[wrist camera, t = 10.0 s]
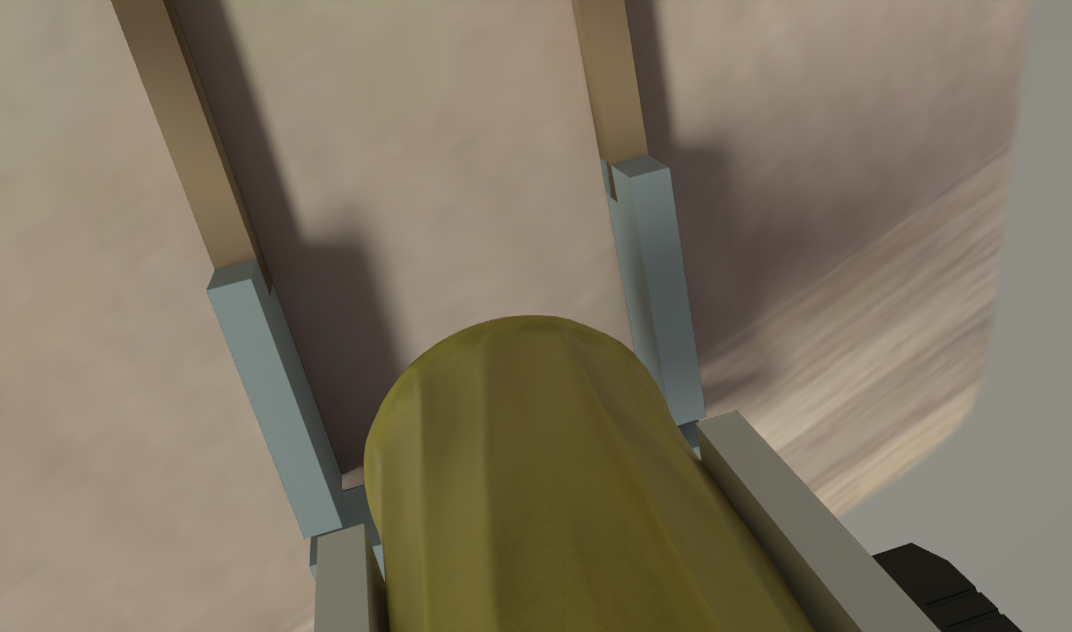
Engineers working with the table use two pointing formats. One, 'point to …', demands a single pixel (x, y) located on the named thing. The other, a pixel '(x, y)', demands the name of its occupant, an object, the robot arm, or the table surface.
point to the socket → (291, 407)
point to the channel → (205, 159)
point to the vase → (554, 496)
